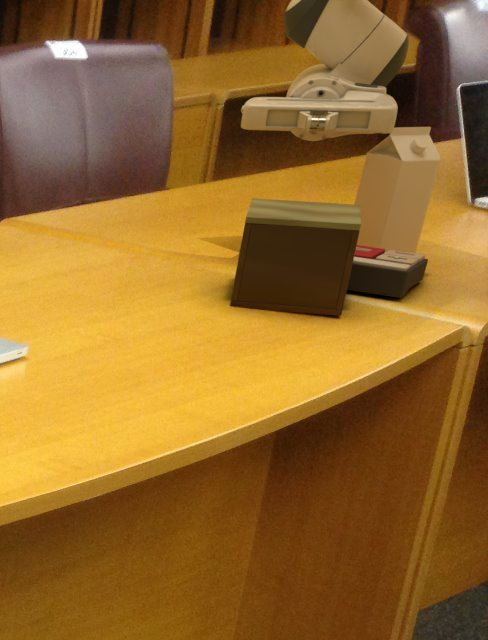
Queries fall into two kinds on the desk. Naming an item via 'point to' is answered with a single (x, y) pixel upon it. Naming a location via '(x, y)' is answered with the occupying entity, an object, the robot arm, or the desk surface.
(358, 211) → the lid
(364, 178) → the milk carton
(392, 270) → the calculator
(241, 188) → the desk surface
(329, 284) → the chest
